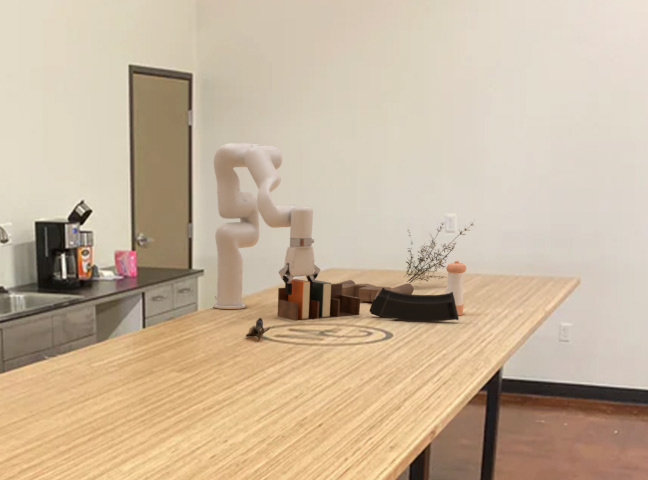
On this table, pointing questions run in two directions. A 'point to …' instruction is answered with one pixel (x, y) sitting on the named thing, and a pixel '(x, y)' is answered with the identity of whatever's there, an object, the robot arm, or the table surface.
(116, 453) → the table surface
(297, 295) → the orange book
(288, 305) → the book rack
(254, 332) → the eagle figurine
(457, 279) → the pepper shaker
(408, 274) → the dried plant
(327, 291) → the green book
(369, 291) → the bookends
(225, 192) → the robot arm
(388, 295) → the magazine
